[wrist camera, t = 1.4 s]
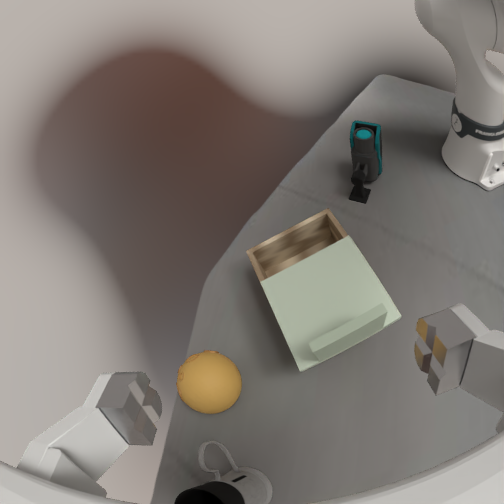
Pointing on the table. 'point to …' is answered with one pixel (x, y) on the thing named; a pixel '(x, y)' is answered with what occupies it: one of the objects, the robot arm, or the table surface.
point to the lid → (329, 303)
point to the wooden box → (295, 244)
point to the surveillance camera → (365, 157)
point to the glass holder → (228, 485)
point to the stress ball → (209, 382)
